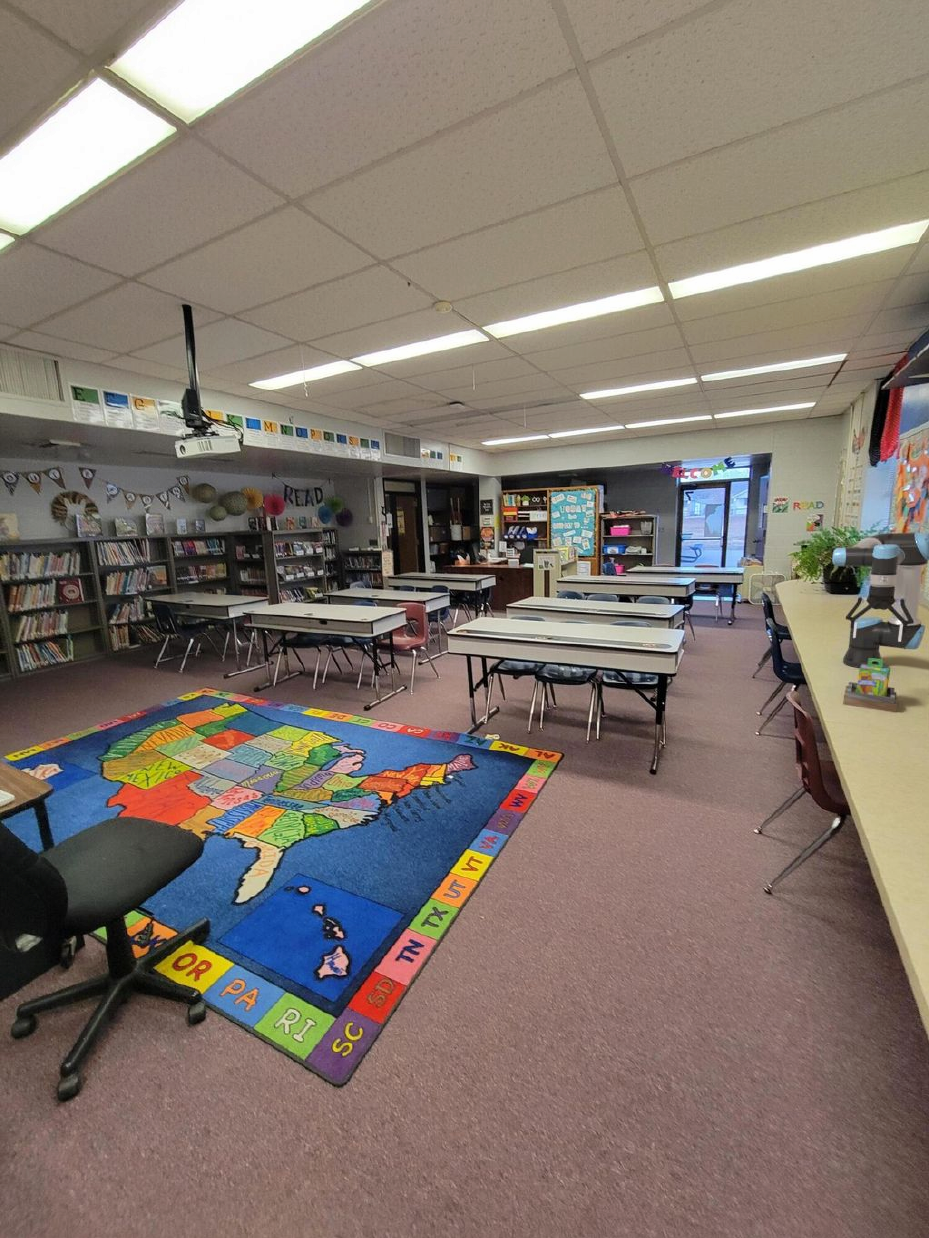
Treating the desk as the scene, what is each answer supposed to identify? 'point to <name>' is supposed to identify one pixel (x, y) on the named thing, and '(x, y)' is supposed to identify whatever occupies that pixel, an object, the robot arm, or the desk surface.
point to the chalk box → (873, 678)
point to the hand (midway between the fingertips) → (876, 639)
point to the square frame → (870, 699)
